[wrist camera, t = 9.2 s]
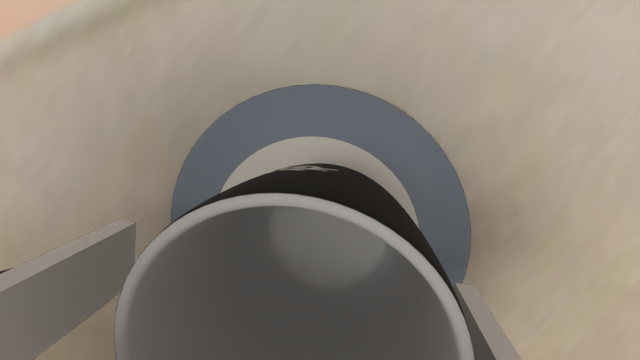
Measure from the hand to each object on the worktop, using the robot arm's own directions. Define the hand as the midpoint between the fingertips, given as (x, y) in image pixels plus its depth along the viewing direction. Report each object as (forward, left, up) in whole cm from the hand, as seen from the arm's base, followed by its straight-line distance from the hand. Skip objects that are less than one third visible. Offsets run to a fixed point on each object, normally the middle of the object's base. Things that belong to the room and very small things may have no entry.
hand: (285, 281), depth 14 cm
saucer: (0, 0, -6) cm, 6 cm away
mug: (0, 0, -5) cm, 5 cm away
